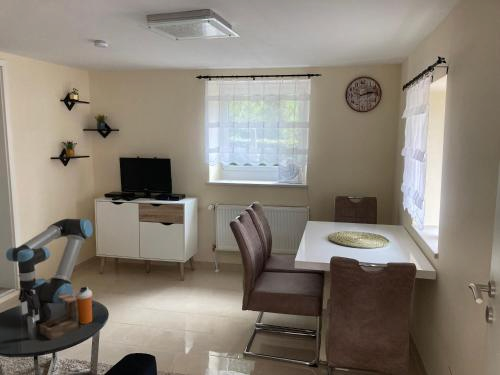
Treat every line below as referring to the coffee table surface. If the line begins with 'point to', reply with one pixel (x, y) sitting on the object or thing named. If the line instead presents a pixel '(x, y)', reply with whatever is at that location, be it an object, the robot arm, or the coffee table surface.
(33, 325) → the peg
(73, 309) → the socket block
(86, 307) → the shaker bottle
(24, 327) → the coffee table surface
